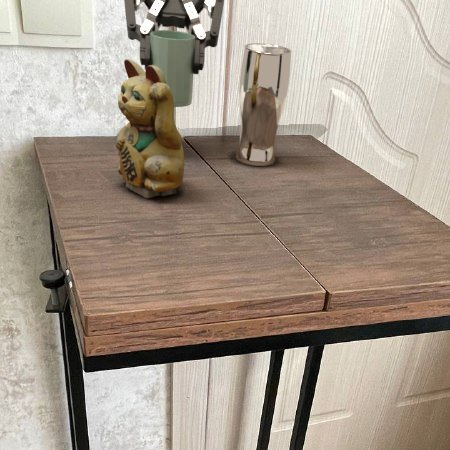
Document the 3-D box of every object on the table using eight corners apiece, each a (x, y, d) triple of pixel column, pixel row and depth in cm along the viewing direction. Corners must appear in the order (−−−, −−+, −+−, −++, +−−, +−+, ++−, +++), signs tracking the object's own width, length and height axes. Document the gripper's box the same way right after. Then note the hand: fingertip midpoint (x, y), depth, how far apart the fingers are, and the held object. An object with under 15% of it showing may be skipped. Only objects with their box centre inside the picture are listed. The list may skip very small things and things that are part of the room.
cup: (191, 97, 92) (194, 32, 87) (192, 108, 87) (195, 41, 82) (150, 93, 91) (151, 28, 86) (148, 105, 87) (149, 37, 81)
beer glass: (286, 160, 96) (302, 50, 87) (263, 171, 91) (277, 56, 82) (247, 148, 99) (259, 40, 89) (223, 158, 94) (233, 46, 85)
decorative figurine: (105, 182, 83) (101, 55, 73) (151, 170, 88) (153, 49, 78) (155, 206, 78) (157, 74, 69) (201, 192, 83) (209, 67, 74)
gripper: (121, -75, 82) (116, 46, 81) (230, -63, 84) (227, 55, 82) (124, -31, 90) (120, 80, 88) (224, -21, 91) (221, 89, 90)
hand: (172, 68), depth 85 cm, fingers closed on cup, 6 cm apart
